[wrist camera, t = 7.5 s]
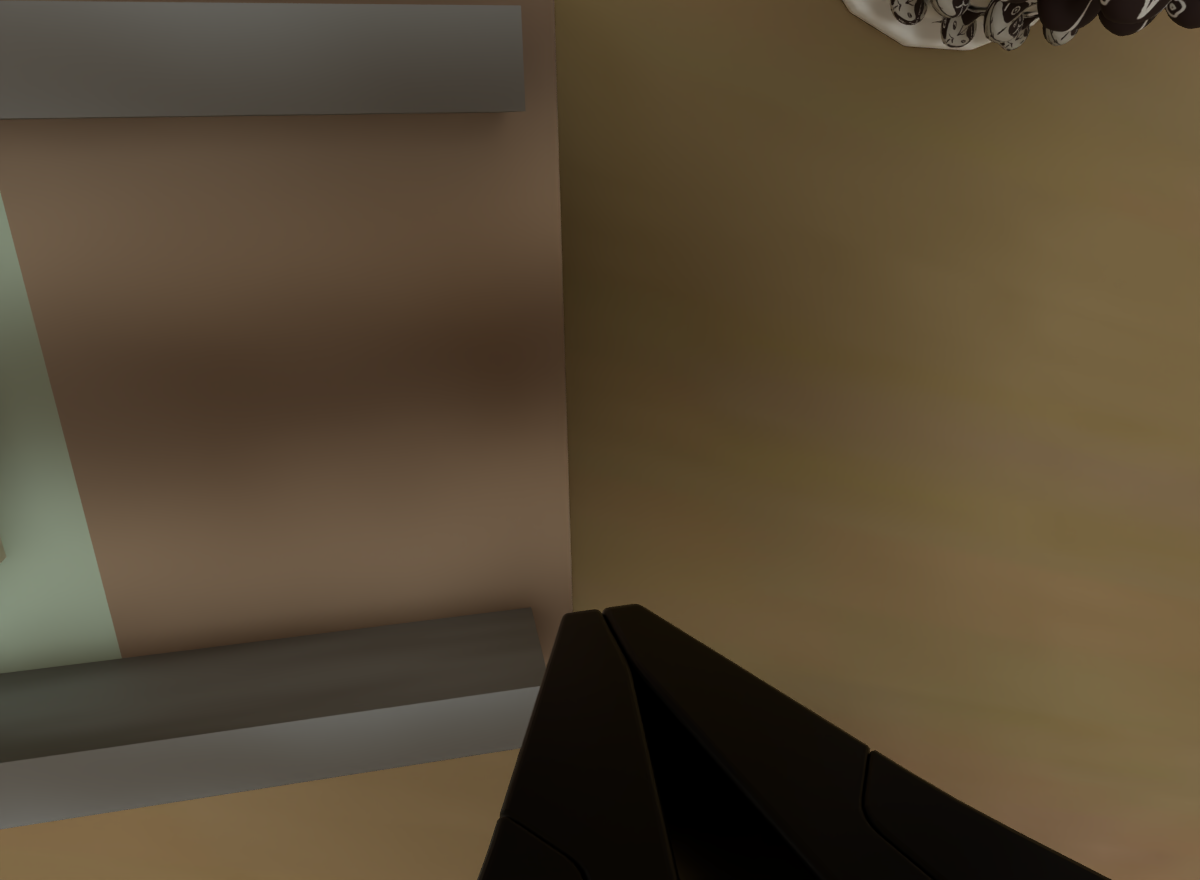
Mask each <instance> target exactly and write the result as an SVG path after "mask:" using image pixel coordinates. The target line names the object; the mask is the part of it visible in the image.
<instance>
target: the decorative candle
mask: <svg viewBox="0 0 1200 880" xmlns="http://www.w3.org/2000/svg"><path fill="white" fill-rule="evenodd" d="M842 1H843V2H844V4H845V6H846V7H847V9H848V10H849V12H850V13H852V14H854V15H855V16H857V17H858V18H860V19H862V20H863V21H865V22H866V23H868V24H870V25H871V26H873V27H874V28H876V29H877V30H879V31H881V32H882V33H884V34H885V35H887V36H889V37H890V38H892V39H893V40H895V41H897V42H898V43H900V44H901V45H903V46H910V47H924V48H937V49H951V50H964V51H965V50H972V49H975V48H977V47H980V46H982V45H985V44H987V43H990V42H995V43H998V44H999V45H1000V46H1001V47H1002V48H1003V49H1005V50H1007V51H1010V50H1014V49H1016V48H1018V47H1019V46H1020V45H1021V44H1022V43H1023V42H1024V41H1025V40H1026V38H1027V36H1028V34H1029V31H1030V26H1032V25H1034V24H1035V23H1036V22H1037V21H1038V20H1039V19H1040V21H1041V23H1042V24H1043V34H1044V36H1045V39H1046V40H1047V41H1048V42H1049V43H1050V44H1052V45H1054V46H1059V45H1063V44H1065V43H1067V42H1068V41H1070V40H1071V39H1072V38H1073V37H1074V36H1075V34H1076V33H1077V31H1078V29H1079V28H1081V27H1084V26H1085V25H1087V24H1088V23H1090V22H1091V21H1092V20H1093V19H1094V18H1095V17H1096V16H1097V14H1098V16H1099V19H1100V21H1101V23H1102V24H1103V26H1104V27H1105V28H1106V29H1107V30H1109V31H1110V32H1112V33H1113V34H1116V35H1118V36H1125V35H1130V34H1133V33H1135V32H1137V31H1139V30H1141V29H1142V28H1144V27H1145V26H1147V25H1148V24H1149V23H1150V22H1151V21H1152V20H1153V19H1154V18H1155V17H1156V16H1157V14H1158V13H1160V12H1161V11H1162V10H1163V9H1164V8H1165V10H1166V12H1167V14H1168V16H1169V17H1170V18H1171V19H1172V21H1174V22H1175V23H1177V24H1178V25H1180V26H1182V27H1185V28H1188V29H1193V28H1199V27H1200V0H842Z"/></svg>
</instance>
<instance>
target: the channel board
mask: <svg viewBox="0 0 1200 880" xmlns="http://www.w3.org/2000/svg"><path fill="white" fill-rule="evenodd" d="M0 538H1V541H2V544H3V548H4V551H5V554H6V558H5V559H4V560H3V561H2V562H1V563H0V829H5V828H12V827H18V826H25V825H31V824H37V823H44V822H50V821H57V820H63V819H69V818H76V817H82V816H89V815H95V814H102V813H108V812H114V811H121V810H127V809H134V808H140V807H146V806H153V805H159V804H166V803H172V802H178V801H185V800H191V799H198V798H204V797H211V796H217V795H223V794H230V793H236V792H243V791H249V790H255V789H262V788H268V787H275V786H281V785H288V784H294V783H300V782H307V781H313V780H320V779H326V778H332V777H339V776H345V775H352V774H358V773H364V772H371V771H377V770H384V769H390V768H397V767H403V766H409V765H416V764H422V763H429V762H435V761H441V760H448V759H454V758H461V757H467V756H473V755H480V754H486V753H493V752H499V751H506V750H512V749H518V748H521V746H522V742H523V739H524V736H525V733H526V730H527V727H528V723H529V720H530V717H531V714H532V711H533V707H534V704H535V701H536V698H537V695H538V692H539V688H540V685H541V682H542V679H543V676H544V672H545V669H546V666H547V663H548V660H549V657H550V653H551V650H552V647H553V644H554V641H555V638H556V634H557V631H558V628H559V625H560V622H561V619H562V617H563V615H565V614H566V613H572V612H573V604H572V571H571V538H570V504H569V471H568V438H567V405H566V372H565V339H564V306H563V273H562V240H561V206H560V173H559V140H558V107H557V74H556V41H555V8H554V0H0Z"/></svg>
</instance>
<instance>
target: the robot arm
mask: <svg viewBox="0 0 1200 880" xmlns="http://www.w3.org/2000/svg"><path fill="white" fill-rule="evenodd" d="M477 880H1111V879H1109V878H1107V877H1105V876H1103V875H1101V874H1099V873H1097V872H1095V871H1093V870H1092V869H1090V868H1088V867H1086V866H1084V865H1082V864H1080V863H1078V862H1076V861H1074V860H1072V859H1070V858H1068V857H1066V856H1064V855H1062V854H1060V853H1058V852H1056V851H1054V850H1052V849H1051V848H1049V847H1047V846H1045V845H1043V844H1041V843H1039V842H1037V841H1035V840H1033V839H1031V838H1029V837H1027V836H1025V835H1023V834H1021V833H1019V832H1017V831H1015V830H1014V829H1012V828H1010V827H1008V826H1006V825H1004V824H1002V823H1001V822H999V821H997V820H995V819H993V818H991V817H989V816H987V815H986V814H984V813H982V812H980V811H978V810H976V809H974V808H973V807H971V806H969V805H967V804H965V803H963V802H961V801H959V800H958V799H956V798H954V797H952V796H951V795H949V794H947V793H946V792H944V791H942V790H941V789H939V788H937V787H935V786H934V785H932V784H930V783H929V782H927V781H925V780H924V779H922V778H920V777H918V776H917V775H915V774H913V773H912V772H910V771H908V770H907V769H905V768H903V767H902V766H900V765H899V764H897V763H895V762H894V761H892V760H890V759H889V758H887V757H886V756H884V755H882V754H881V753H879V752H878V751H871V752H870V749H869V747H868V746H867V745H866V744H864V743H863V742H861V741H859V740H858V739H856V738H854V737H853V736H851V735H850V734H848V733H846V732H845V731H843V730H842V729H840V728H838V727H837V726H835V725H833V724H832V723H830V722H829V721H827V720H825V719H824V718H822V717H821V716H819V715H817V714H816V713H814V712H812V711H811V710H809V709H808V708H806V707H804V706H803V705H801V704H800V703H798V702H796V701H795V700H793V699H792V698H790V697H788V696H787V695H785V694H783V693H782V692H780V691H779V690H777V689H775V688H774V687H772V686H771V685H769V684H767V683H766V682H764V681H762V680H761V679H759V678H758V677H756V676H754V675H753V674H751V673H750V672H748V671H746V670H745V669H743V668H742V667H740V666H738V665H737V664H735V663H733V662H732V661H730V660H729V659H727V658H725V657H724V656H722V655H721V654H719V653H717V652H716V651H714V650H712V649H711V648H709V647H708V646H706V645H704V644H703V643H701V642H700V641H698V640H696V639H695V638H693V637H691V636H690V635H688V634H687V633H685V632H683V631H682V630H680V629H679V628H677V627H675V626H674V625H672V624H671V623H669V622H667V621H666V620H664V619H662V618H661V617H659V616H658V615H656V614H654V613H653V612H651V611H650V610H648V609H646V608H645V607H643V606H641V605H639V604H630V605H623V606H616V607H609V608H606V609H604V610H603V612H602V613H601V612H600V611H599V610H595V609H594V610H586V611H579V612H572V613H566V614H565V615H563V617H562V619H561V622H560V625H559V628H558V631H557V634H556V638H555V641H554V644H553V647H552V650H551V653H550V657H549V660H548V663H547V666H546V669H545V672H544V676H543V679H542V682H541V685H540V688H539V692H538V695H537V698H536V701H535V704H534V707H533V711H532V714H531V717H530V720H529V723H528V727H527V730H526V733H525V736H524V739H523V742H522V746H521V749H520V752H519V755H518V758H517V762H516V765H515V768H514V771H513V774H512V777H511V781H510V784H509V787H508V790H507V793H506V796H505V800H504V803H503V806H502V809H501V812H500V818H499V819H498V821H497V824H496V827H495V830H494V833H493V836H492V839H491V843H490V846H489V849H488V852H487V855H486V857H485V860H484V863H483V866H482V868H481V871H480V874H479V877H478V879H477Z"/></svg>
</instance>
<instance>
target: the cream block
mask: <svg viewBox="0 0 1200 880" xmlns="http://www.w3.org/2000/svg"><path fill="white" fill-rule="evenodd" d="M5 558H6V554H5V551H4V548H3V544H2V541H1V538H0V563H1V562H2V561H3V560H4V559H5Z"/></svg>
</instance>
